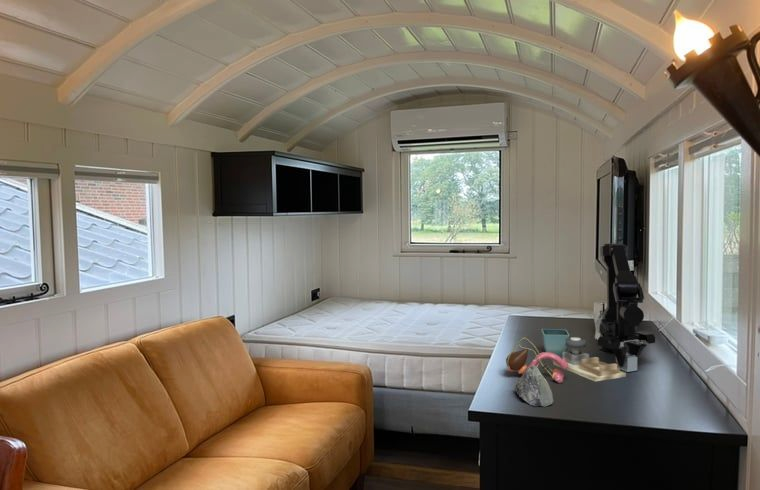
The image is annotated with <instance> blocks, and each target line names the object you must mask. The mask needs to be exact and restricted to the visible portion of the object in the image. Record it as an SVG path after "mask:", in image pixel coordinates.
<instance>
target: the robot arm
mask: <svg viewBox="0 0 760 490" xmlns="http://www.w3.org/2000/svg"><path fill="white" fill-rule="evenodd" d="M628 251H629V250H628V245H626V244H623V243H621V242H620V243H603V245H602V246H600V248H599V254H600V257H601V261H602V263H603V264H604V266H605V267H606V301H607V308H606V309H605V311H604V312H603V314H602V319H601V321H600V326H599V333H600V334H601V335H602V336H600V337H599V338H598V340H597V345H598V346H599V347H600V348H599V350H600V351H601V352H602V351H603V352H606V353H609V354H613V355H615V359H616V358H617V361H618V364H619V366H620V367H623V364H624V360H625V355H626V352H627V350H628V353H630V354H633V355H635V356H637V359H638V357H639V356H640V354H641V353H642V351H643V350H644V349H645V348H646V347H647V344H655V343H656V336H655V335H654V333H651V332H647V331H643V330H642V331H641V330H640V331H637V326H640V324H641V323H642V322H643V320H644V318H645V314H644V311H643V310H642V308H640V307H639V305H638V304H639V303H640V304H641V303H642V304H643V302H644V301H643V300H644V299H645V295H644V290H643V287H642V286H641V283H639V281H638V278H637V276H636V275H634V274H633V273H632V272H631V267H630V265H629V261H628V256H629V255H628V254H629V252H628ZM644 341H645V342H646V343H647V344H645V343H644ZM625 343H626V345H627V347H625V345H624V344H625Z"/></svg>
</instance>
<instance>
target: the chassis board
mask: <svg viewBox="0 0 760 490" xmlns="http://www.w3.org/2000/svg"><path fill="white" fill-rule="evenodd" d="M563 358H565V360H566V362H567V364H568V368H567V369H566V371H568V372H571V373H573V374H576V375H578V376H580V377H583V378H586V379H587V380H590V381H592V382H600V381H607V380H613V379H620V378H626V377H627V372H626V371H623V370H621V369H620V368H618V367H617V364H616V362H614V363H607V362H604V361H600V358H599V357H597V356H594V357H593V356H592V357H590V354H589V353H586V352H583V351H580V350H579V354H578V355H574V354H572V350H567V351H566V352H562V359H563ZM553 365H554V366H555V367H558V368H561V367H560V365H558V364H557V363H556V362H554V361H552V366H553Z"/></svg>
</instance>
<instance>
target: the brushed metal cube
mask: <svg viewBox="0 0 760 490" xmlns="http://www.w3.org/2000/svg"><path fill="white" fill-rule="evenodd" d="M615 364H617V367H618V368H620V371H622V372H625V373H629V372H636V371H638V358H637V356H635V355H633V354H630V353H629V352H627V351H626V355H625V360H624V364H623V367H620V366H619V364H618V361H617V358H616V357H615Z"/></svg>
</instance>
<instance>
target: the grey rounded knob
mask: <svg viewBox="0 0 760 490" xmlns="http://www.w3.org/2000/svg"><path fill="white" fill-rule="evenodd" d="M586 343H587V341H586V339H584V338H581V337H578V336H571V337H569V338H567V339H565V345H566V346H568V348H571V351H572V354H574V355H578V354H579V351H580V348H581V349H582V348H585V347H586V346H587V344H586Z"/></svg>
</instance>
